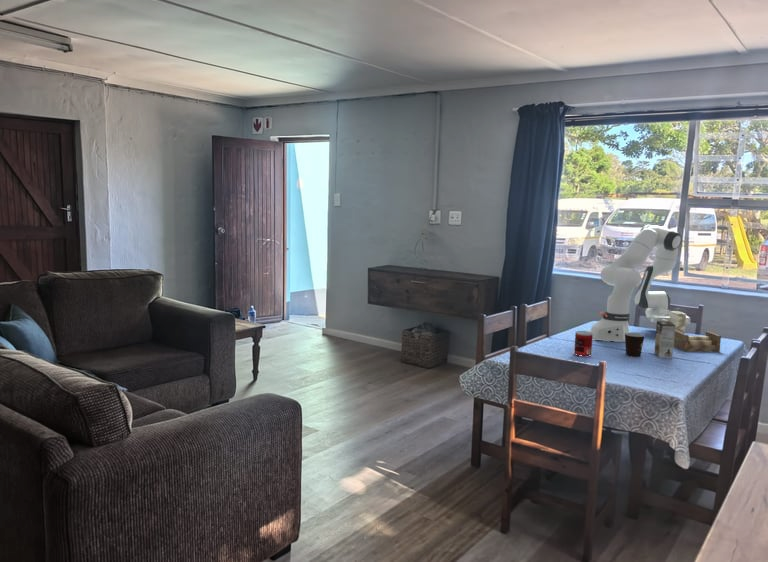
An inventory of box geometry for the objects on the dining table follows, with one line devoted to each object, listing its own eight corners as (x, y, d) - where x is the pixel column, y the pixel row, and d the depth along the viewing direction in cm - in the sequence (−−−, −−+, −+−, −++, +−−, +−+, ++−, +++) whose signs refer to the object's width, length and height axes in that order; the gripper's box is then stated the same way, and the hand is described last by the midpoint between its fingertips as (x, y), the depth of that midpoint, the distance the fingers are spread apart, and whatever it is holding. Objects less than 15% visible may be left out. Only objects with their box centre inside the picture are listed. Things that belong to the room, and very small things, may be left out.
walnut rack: (684, 351, 284) (685, 335, 283) (673, 346, 294) (674, 330, 293) (719, 351, 284) (721, 336, 283) (707, 346, 294) (709, 331, 293)
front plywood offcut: (689, 350, 285) (689, 341, 285) (686, 349, 287) (687, 340, 287) (711, 351, 286) (711, 341, 285) (708, 350, 288) (709, 340, 287)
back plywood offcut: (686, 349, 288) (687, 336, 287) (684, 348, 290) (685, 335, 289) (708, 349, 288) (709, 337, 287) (705, 348, 290) (707, 336, 289)
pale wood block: (675, 341, 305) (677, 313, 303) (667, 338, 313) (670, 311, 311) (683, 341, 305) (686, 313, 303) (676, 338, 313) (678, 311, 311)
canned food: (591, 354, 275) (592, 331, 274) (591, 358, 267) (592, 334, 266) (574, 352, 277) (575, 330, 276) (574, 356, 270) (575, 333, 269)
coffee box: (653, 353, 279) (656, 320, 277) (667, 354, 278) (670, 321, 276) (658, 357, 270) (661, 324, 268) (673, 358, 269) (676, 325, 267)
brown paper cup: (634, 358, 268) (636, 337, 267) (619, 354, 276) (620, 333, 275) (651, 355, 274) (652, 335, 272) (636, 351, 281) (637, 331, 280)
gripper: (646, 311, 321) (658, 316, 307) (682, 312, 321) (696, 316, 307) (645, 322, 322) (657, 327, 308) (681, 323, 322) (695, 328, 308)
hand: (677, 322), depth 308 cm, fingers open, 8 cm apart
